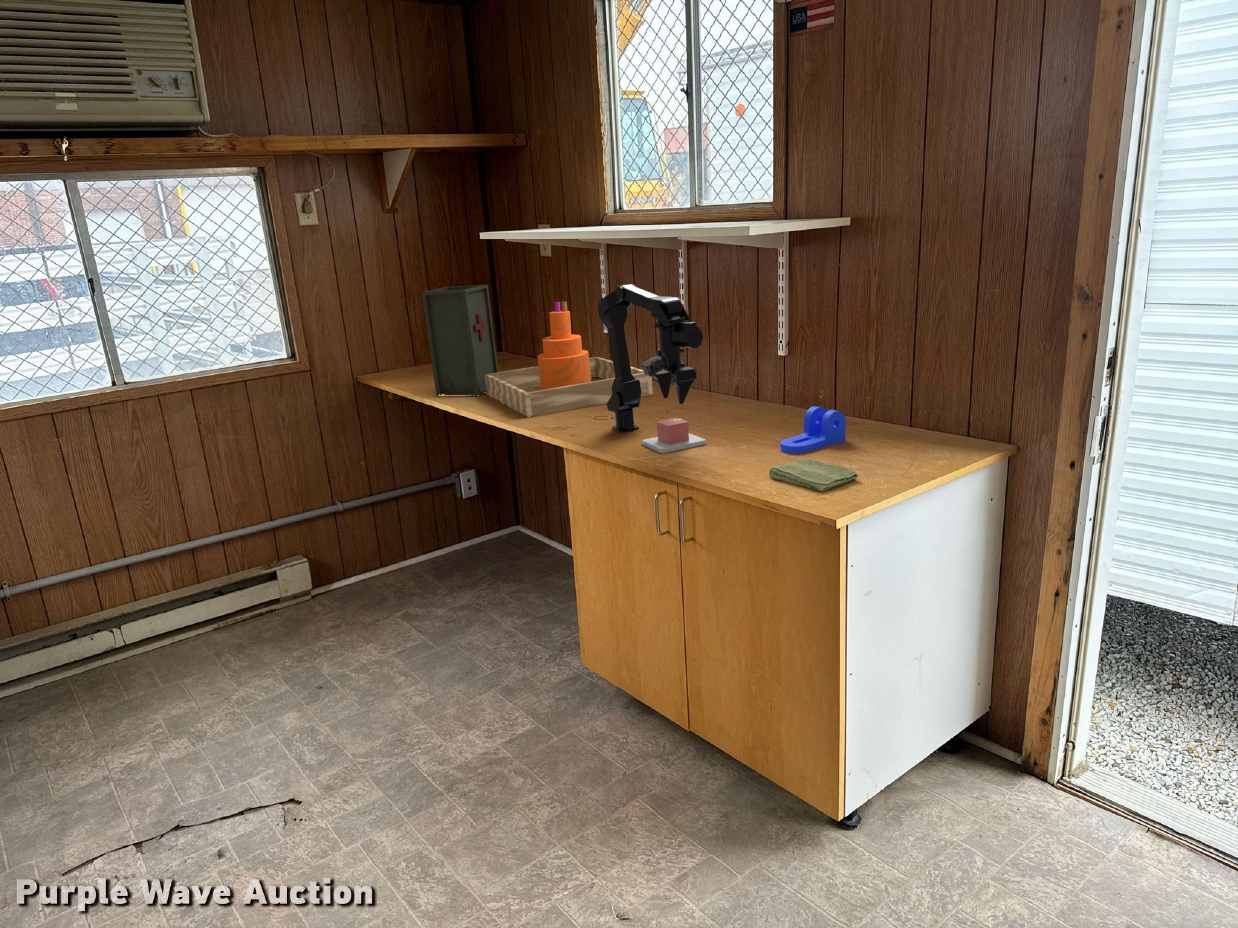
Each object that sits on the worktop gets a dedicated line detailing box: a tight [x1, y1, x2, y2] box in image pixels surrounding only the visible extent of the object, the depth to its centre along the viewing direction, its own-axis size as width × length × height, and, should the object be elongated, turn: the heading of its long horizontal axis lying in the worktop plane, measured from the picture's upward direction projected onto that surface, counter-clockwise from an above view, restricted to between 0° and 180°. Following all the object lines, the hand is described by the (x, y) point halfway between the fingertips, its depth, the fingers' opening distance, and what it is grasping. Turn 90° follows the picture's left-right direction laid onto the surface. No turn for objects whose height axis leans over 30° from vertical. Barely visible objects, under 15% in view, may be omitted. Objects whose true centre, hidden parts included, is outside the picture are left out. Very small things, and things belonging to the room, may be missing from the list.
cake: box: [537, 301, 592, 390], centre depth 304 cm, size 20×19×35 cm
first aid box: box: [421, 284, 499, 396], centre depth 325 cm, size 18×18×40 cm
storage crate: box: [485, 356, 654, 418], centre depth 308 cm, size 47×47×8 cm
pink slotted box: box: [656, 417, 690, 444], centre depth 233 cm, size 6×6×6 cm
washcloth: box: [768, 458, 859, 493], centre depth 196 cm, size 13×18×3 cm
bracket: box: [779, 405, 847, 455], centre depth 221 cm, size 18×8×9 cm, turn 123°
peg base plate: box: [641, 432, 707, 455], centre depth 233 cm, size 12×14×5 cm
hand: (673, 401), depth 233 cm, fingers open, 9 cm apart
